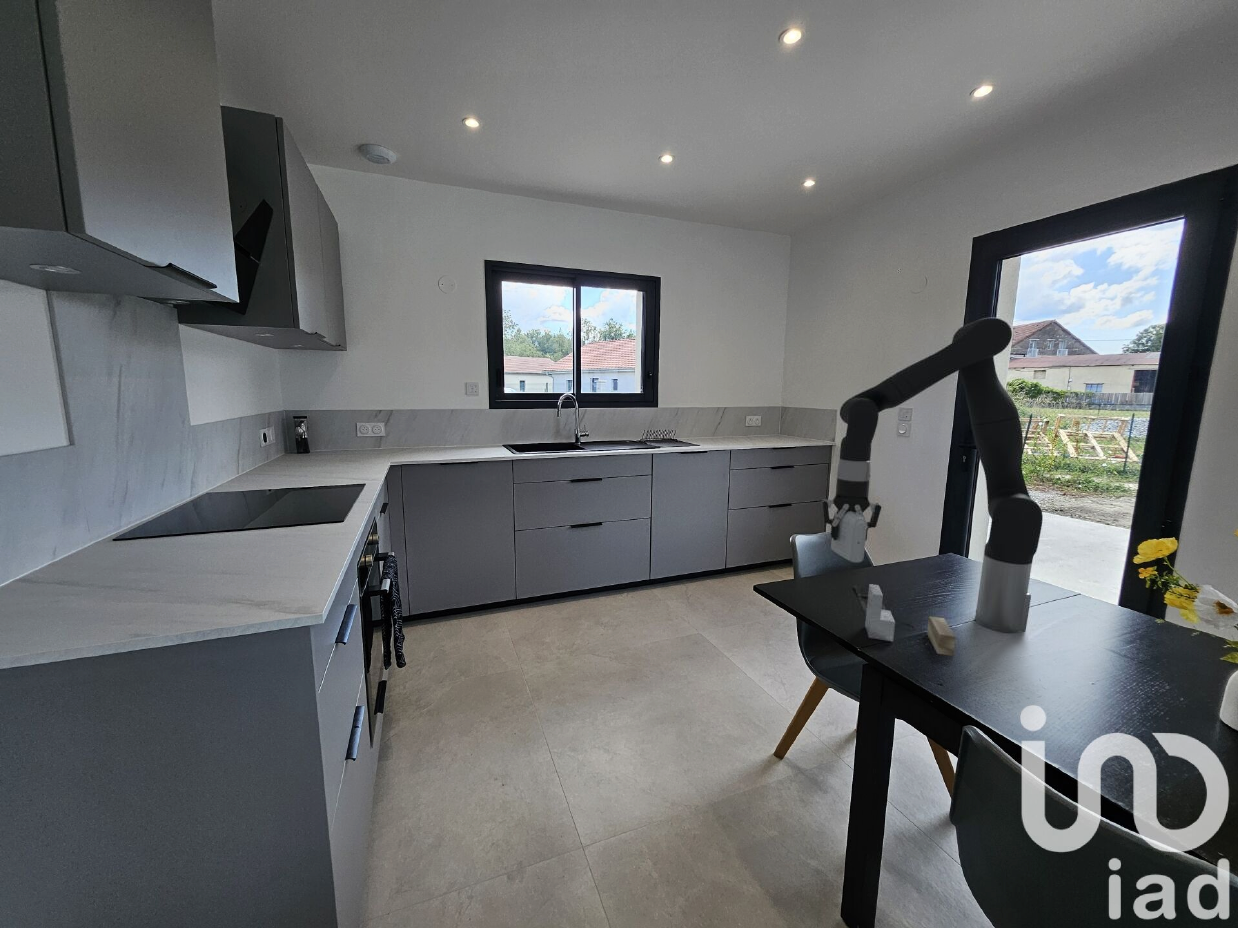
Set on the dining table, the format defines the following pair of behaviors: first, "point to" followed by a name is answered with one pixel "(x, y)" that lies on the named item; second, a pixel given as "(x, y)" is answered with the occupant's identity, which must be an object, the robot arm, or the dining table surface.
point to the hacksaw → (858, 591)
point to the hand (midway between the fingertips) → (847, 540)
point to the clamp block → (941, 636)
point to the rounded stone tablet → (850, 537)
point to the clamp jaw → (878, 616)
